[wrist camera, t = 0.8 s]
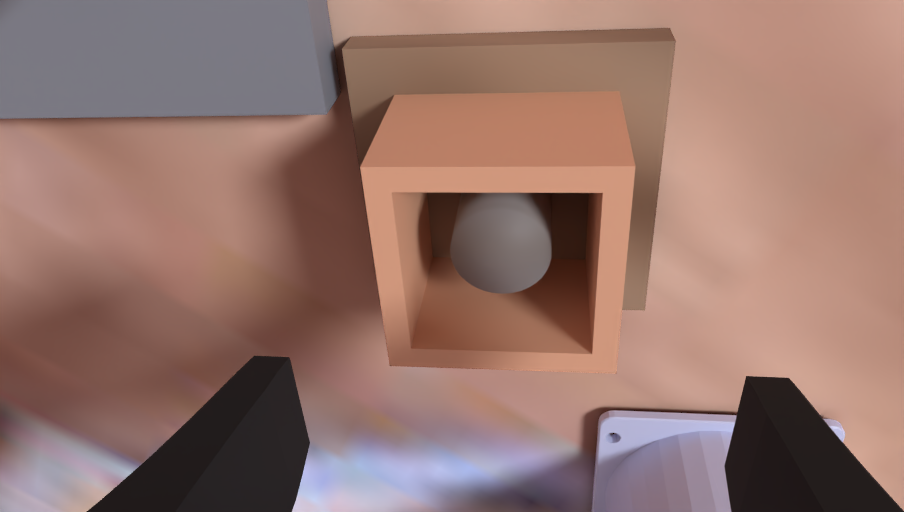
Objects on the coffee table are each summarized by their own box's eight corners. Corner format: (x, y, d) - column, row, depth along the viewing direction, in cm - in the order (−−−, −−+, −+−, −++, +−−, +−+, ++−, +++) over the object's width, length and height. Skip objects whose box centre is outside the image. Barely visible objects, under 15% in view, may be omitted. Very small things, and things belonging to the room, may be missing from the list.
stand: (641, 289, 22) (657, 382, 19) (386, 285, 23) (358, 371, 20) (669, 28, 17) (697, 88, 14) (351, 36, 18) (308, 95, 15)
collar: (605, 276, 20) (616, 373, 17) (414, 273, 21) (389, 365, 18) (619, 91, 17) (635, 166, 14) (394, 94, 18) (359, 166, 15)
